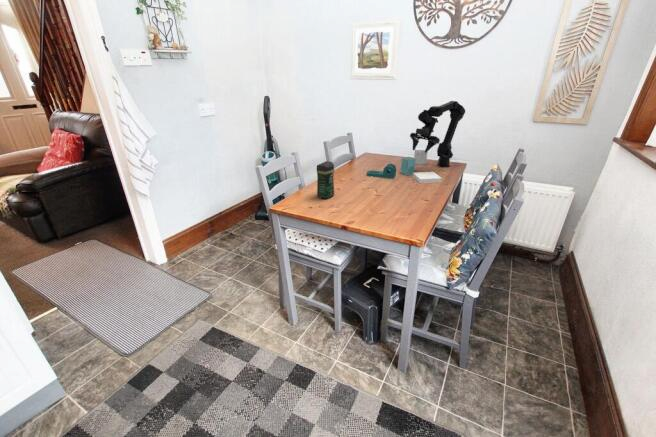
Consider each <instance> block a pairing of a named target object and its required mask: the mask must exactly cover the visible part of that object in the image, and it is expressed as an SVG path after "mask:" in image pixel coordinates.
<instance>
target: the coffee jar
mask: <svg viewBox="0 0 656 437" xmlns="http://www.w3.org/2000/svg"><path fill="white" fill-rule="evenodd" d="M334 172H335V164H334V163H333V162H332V161H330V160H329V161H328V160H327V161H323V162H321V163H319V164H317V165H316V175H317V181H316V183H317V187H316V188H317V190H316V196H317V197H318V198H319V197H321V198H320V199H322V198H324V199H327V198H328V199H330V198H332V197H333V196H334V195H335V184H334V182H335V179H334V174H335V173H334Z"/></svg>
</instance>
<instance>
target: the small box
mask: <svg viewBox="0 0 656 437" xmlns="http://www.w3.org/2000/svg"><path fill="white" fill-rule="evenodd" d="M425 150H426V147H416V148H415V149H414V154H413V155H414V156H413V158H415V159H416V160H415V166H416V165H427V162H428V161H427V160H428V151H429V150H428V151H427V152H426V153H425Z"/></svg>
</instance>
